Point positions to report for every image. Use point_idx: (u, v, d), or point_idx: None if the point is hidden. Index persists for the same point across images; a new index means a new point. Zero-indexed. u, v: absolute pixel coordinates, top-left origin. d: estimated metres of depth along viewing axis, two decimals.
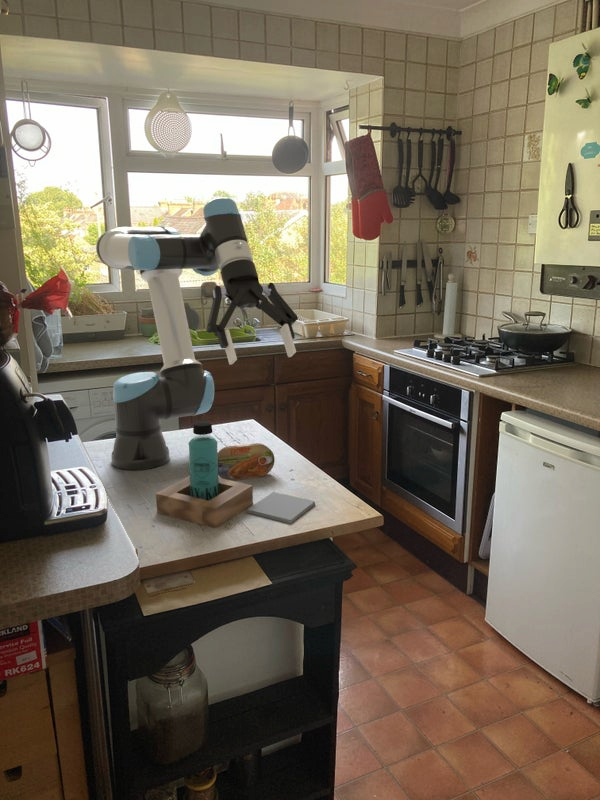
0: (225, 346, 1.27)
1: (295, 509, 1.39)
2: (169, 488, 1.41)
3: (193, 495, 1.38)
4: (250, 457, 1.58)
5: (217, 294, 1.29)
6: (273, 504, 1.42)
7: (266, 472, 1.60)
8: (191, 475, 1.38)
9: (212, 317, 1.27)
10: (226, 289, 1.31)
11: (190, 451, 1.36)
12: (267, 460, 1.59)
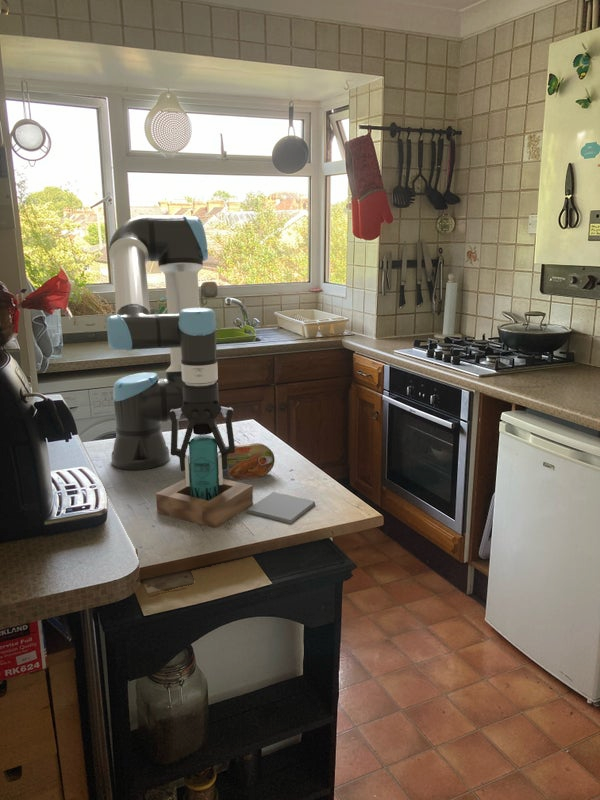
0: None
1: (295, 509, 1.39)
2: (169, 488, 1.41)
3: (193, 495, 1.38)
4: (250, 457, 1.58)
5: (172, 421, 1.34)
6: (273, 504, 1.42)
7: (266, 472, 1.60)
8: (191, 475, 1.38)
9: (171, 445, 1.36)
10: (181, 410, 1.35)
11: (190, 451, 1.36)
12: (267, 460, 1.59)
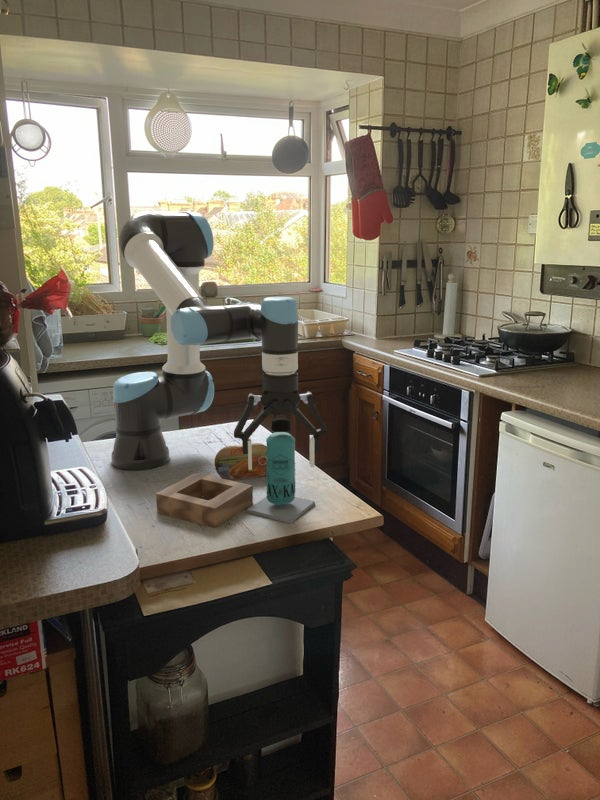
0: None
1: (295, 509, 1.39)
2: (169, 488, 1.41)
3: (270, 492, 1.38)
4: None
5: (248, 405, 1.33)
6: (273, 504, 1.42)
7: None
8: (269, 472, 1.37)
9: (238, 428, 1.34)
10: (261, 398, 1.34)
11: (268, 448, 1.36)
12: None
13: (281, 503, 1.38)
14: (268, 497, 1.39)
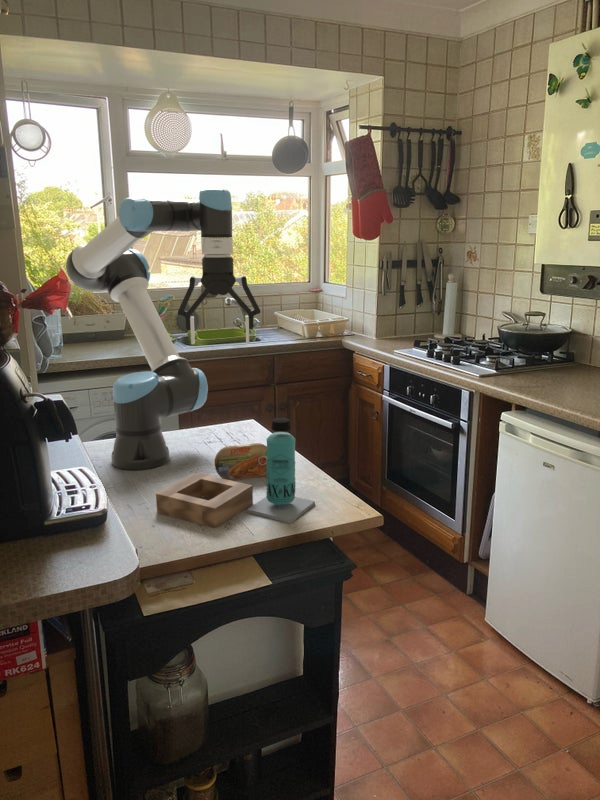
0: (189, 329, 1.57)
1: (295, 509, 1.39)
2: (169, 488, 1.41)
3: (270, 492, 1.38)
4: (250, 457, 1.58)
5: (190, 285, 1.53)
6: (273, 504, 1.42)
7: (266, 472, 1.60)
8: (269, 472, 1.37)
9: (181, 305, 1.55)
10: (201, 279, 1.54)
11: (268, 448, 1.36)
12: None
13: (281, 503, 1.38)
14: None
